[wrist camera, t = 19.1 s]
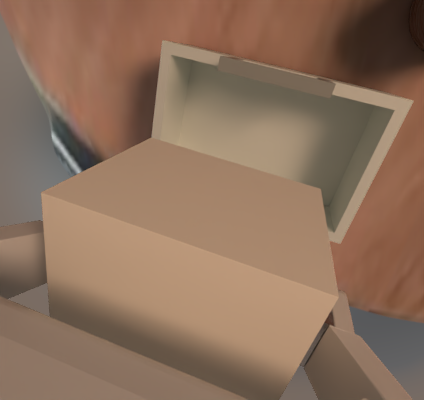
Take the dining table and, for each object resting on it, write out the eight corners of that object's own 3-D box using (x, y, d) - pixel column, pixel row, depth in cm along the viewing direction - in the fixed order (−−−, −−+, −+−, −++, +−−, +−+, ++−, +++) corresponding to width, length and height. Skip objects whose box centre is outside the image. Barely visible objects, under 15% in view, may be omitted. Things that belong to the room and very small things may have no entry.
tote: (388, 92, 24) (438, 108, 15) (332, 211, 29) (346, 272, 21) (189, 44, 27) (137, 35, 18) (171, 162, 32) (124, 198, 23)
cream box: (321, 188, 9) (339, 297, 5) (265, 314, 12) (246, 454, 8) (151, 137, 10) (41, 192, 6) (135, 266, 13) (53, 368, 9)
